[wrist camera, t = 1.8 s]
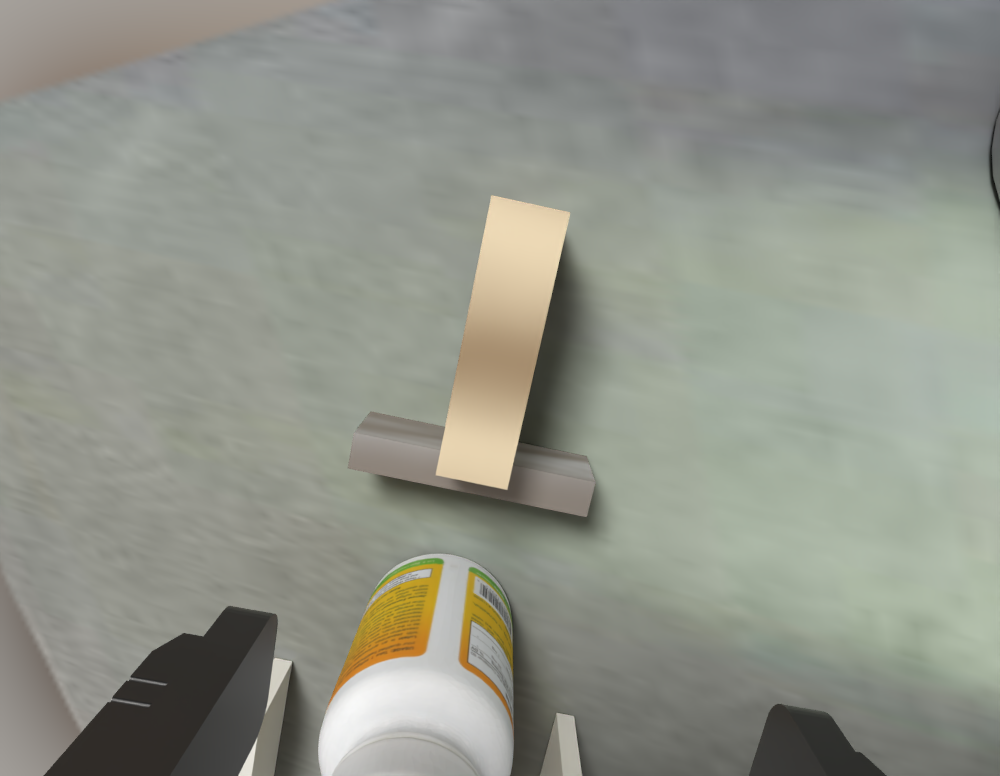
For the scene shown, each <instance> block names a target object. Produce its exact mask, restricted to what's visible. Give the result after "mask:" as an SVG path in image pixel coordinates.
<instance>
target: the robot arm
mask: <svg viewBox="0 0 1000 776" xmlns="http://www.w3.org/2000/svg"><path fill="white" fill-rule="evenodd" d="M992 164H993V178H994V181H995V185H996V189H997V193H998V196H999V200H1000V112H999V115H998V118H997V120H996V126H995V132H994V139H993V145H992ZM277 625H278V619H277V615H276V614H272V613H267V612H261V611H255V610H250V609H244V608H238V607H233V606H228V607H227V608H226V609H225V610H224V611H223V612H222V613H221V615H220V616H219V617H218V619H217V620H216V621H215V622H214V624H213V625H212V626H211V628H210V629H209V630H208V631H207V633H206V634H205V635H204V637H203V636H197V635H192V634H186V633H183V634H181V635H180V636H178V637H176V638H174V639H173V640H171V641H169V642H167V643H166V644H164V645H162V646H161V647H159V648H157V649H155V650H154V651H152V652H151V653H150V654H149V656H148V657H147V658H146V659H145V660H144V661H143V662H142V664H141V665H140V666H139V667H138V668H137V669H136V670H135V672H134V673H133V674H132V675H131V677H130V680H129V681H126V682H125V683H124V684H123V685H122V686H121V688H120V689H119V690H118V691H117V692H116V693H115V695H114V696H113V698H112V700H111V702H108V703H107V704H106V705H105V706H104V707H103V708H102V709H101V711H100V712H99V713H98V714H97V715H96V716H95V717H94V719H93V720H92V721H91V722H90V723H89V724H88V725H87V727H86V728H85V729H84V730H83V731H82V732H81V734H80V735H79V736H78V737H77V738H76V739H75V741H74V742H73V743H72V744H71V745H70V746H69V747H68V749H67V750H66V751H65V752H64V753H63V754H62V755H61V756H60V758H59V759H58V760H57V761H56V762H55V763H54V764H53V766H52V767H51V768H50V769H49V770H48V771H47V773H46V774H45V775H44V776H238V775H239V773H240V771H241V769H242V767H243V765H244V763H245V761H246V759H247V757H248V755H249V753H250V751H251V750H252V748H253V746H254V743H255V741H256V739H257V737H258V734H259V731H260V728H261V725H262V722H263V719H264V715H265V712H266V707H267V702H268V696H269V689H270V681H271V673H272V665H273V657H274V650H275V642H276V634H277ZM749 776H886V775H885V774H884V773H883V772H882V771H881V770H880V769H879V768H877V767H876V766H875V765H874V764H873V763H872V762H871V761H870V760H869V759H867V758H866V757H865V756H864V755H863V754H862V753H860V752H855V751H854V749H853V748H852V746H851V745H850V743H849V742H848V740H847V739H846V737H845V736H844V734H843V733H842V732H841V730H840V729H839V727H838V726H837V724H836V723H835V721H834V720H833V718H832V717H831V716H830V715H829V714H828V713H826V712H822V711H816V710H811V709H805V708H799V707H794V706H788V705H782V704H777V705H775V706H773V708H772V709H771V710H770V712H769V714H768V717H767V720H766V723H765V726H764V730H763V733H762V736H761V739H760V742H759V745H758V749H757V752H756V755H755V758H754V761H753V764H752V767H751V771H750V774H749Z"/></svg>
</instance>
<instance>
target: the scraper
mask: <svg viewBox="0 0 1000 776" xmlns="http://www.w3.org/2000/svg"><path fill="white" fill-rule="evenodd" d="M569 216H570V212H566V211H561V210H556V209H552V208H547V207H543V206H538V205H533V204H529V203H524V202H520V201H515V200H511V199H506V198H501V197H497V196H491V201H490V206H489V211H488V216H487V221H486V226H485V231H484V236H483V241H482V246H481V251H480V256H479V261H478V266H477V271H476V276H475V281H474V286H473V291H472V296H471V301H470V306H469V311H468V316H467V320H466V325H465V330H464V335H463V340H462V345H461V350H460V355H459V360H458V365H457V370H456V375H455V380H454V385H453V390H452V395H451V400H450V405H449V410H448V415H447V420H446V425H445V427H443V426H438V425H433V424H428V423H424V422H419V421H414V420H409V419H404V418H399V417H395V416H390V415H385V414H380V413H375V412H370V413H369V414H368V416H367V417H366V418H365V419H364V421H363V422H362V423H361V424H360V426H359V427H358V428H357V429H356V431H355V432H354V435H353V441H352V447H351V453H350V459H349V465H348V468H349V469H354V470H358V471H363V472H368V473H373V474H378V475H383V476H388V477H393V478H398V479H402V480H407V481H412V482H417V483H422V484H427V485H432V486H437V487H442V488H446V489H451V490H456V491H461V492H466V493H471V494H476V495H481V496H486V497H490V498H495V499H500V500H505V501H510V502H515V503H520V504H525V505H530V506H534V507H539V508H544V509H549V510H554V511H559V512H564V513H569V514H574V515H578V516H583V517H587V514H588V510H589V506H590V502H591V499H592V495H593V491H594V487H595V483H596V482H595V479H594V476H593V473H592V470H591V467H590V464H589V461H588V459H587V456H583V455H578V454H573V453H568V452H564V451H559V450H554V449H549V448H544V447H539V446H535V445H530V444H525V443H520V442H518V440H519V436H520V431H521V427H522V423H523V418H524V414H525V410H526V405H527V401H528V396H529V392H530V388H531V383H532V379H533V374H534V370H535V366H536V361H537V357H538V352H539V348H540V344H541V339H542V335H543V330H544V326H545V322H546V317H547V313H548V308H549V304H550V300H551V295H552V291H553V287H554V282H555V278H556V273H557V269H558V265H559V260H560V256H561V251H562V247H563V243H564V238H565V234H566V229H567V225H568V221H569Z"/></svg>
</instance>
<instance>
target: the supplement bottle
mask: <svg viewBox="0 0 1000 776" xmlns="http://www.w3.org/2000/svg"><path fill="white" fill-rule="evenodd" d="M513 749H514V721H513V625H512V616H511V610H510V605H509V602H508V599H507V597H506V594H505V592H504V590H503V589H502V587H501V586H500V584H499V583H498V581H497V580H496V579H495V578H494V577H493V576H492V575H491V574H490V573H489V572H488V571H487V570H485V569H484V568H483V567H482V566H480V565H478V564H477V563H475V562H473V561H471V560H468V559H466V558H463V557H460V556H455V555H450V554H427V555H422V556H418V557H414V558H411V559H409V560H406V561H404V562H402V563H400V564H399V565H397V566H396V567H394V568H393V569H391V570H390V571H389V572H388V573H387V574H386V575H385V576H384V577H383V578H382V579H381V581H380V582H379V583H378V585H377V586H376V588H375V590H374V592H373V594H372V596H371V598H370V600H369V602H368V605H367V607H366V609H365V612H364V615H363V617H362V620H361V623H360V625H359V628H358V631H357V633H356V636H355V638H354V641H353V643H352V646H351V649H350V651H349V654H348V656H347V659H346V661H345V664H344V667H343V669H342V671H341V674H340V676H339V678H338V681H337V684H336V686H335V689H334V691H333V694H332V697H331V699H330V702H329V705H328V707H327V710H326V713H325V717H324V721H323V724H322V727H321V731H320V736H319V745H318V756H319V765H320V770H321V774H322V776H510V775H511V770H512V764H513Z"/></svg>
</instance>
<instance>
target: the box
mask: <svg viewBox="0 0 1000 776" xmlns="http://www.w3.org/2000/svg"><path fill="white" fill-rule="evenodd" d="M291 667H292V661H288V660H283V659H278V658H274V660H273V665H272V673H271V681H270V689H269V696H268V702H267V707H266V712H265V715H264V719H263V722H262V725H261V728H260V731H259V734H258V737H257V739H256V741H255V743H254V746H253V748H252V750H251V751H250V753H249V755H248V757H247V759H246V761H245V763H244V765H243V767H242V769H241V771H240V773H239V775H238V776H274V773H275V766H276V760H277V754H278V748H279V742H280V735H281V729H282V723H283V717H284V711H285V704H286V698H287V692H288V686H289V680H290V674H291ZM540 776H582V772H581V764H580V757H579V749H578V742H577V735H576V727H575V720H574V716H571V715H566V714H561V713H556V717H555V721H554V724H553V728H552V732H551V736H550V740H549V743H548V747H547V751H546V755H545V758H544V762H543V766H542V770H541V773H540Z"/></svg>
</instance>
